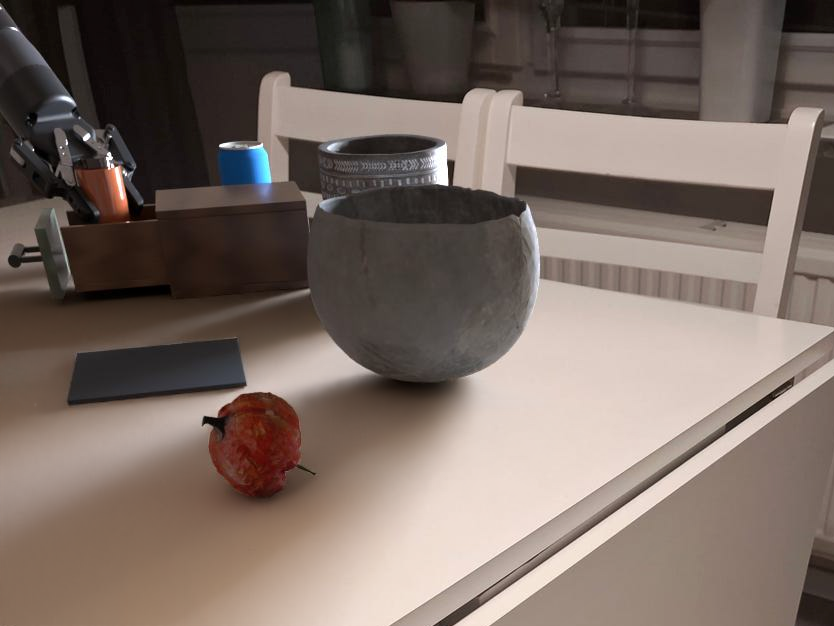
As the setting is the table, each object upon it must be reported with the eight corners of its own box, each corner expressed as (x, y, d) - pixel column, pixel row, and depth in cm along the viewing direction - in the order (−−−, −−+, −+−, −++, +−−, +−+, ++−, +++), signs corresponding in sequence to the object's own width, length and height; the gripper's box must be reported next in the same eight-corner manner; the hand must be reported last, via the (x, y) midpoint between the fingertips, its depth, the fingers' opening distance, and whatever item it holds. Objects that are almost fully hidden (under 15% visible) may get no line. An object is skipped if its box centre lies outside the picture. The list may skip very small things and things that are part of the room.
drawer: (15, 302, 114) (-6, 231, 109) (25, 277, 123) (6, 210, 118) (192, 287, 118) (178, 218, 113) (189, 263, 126) (177, 198, 122)
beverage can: (275, 237, 141) (261, 139, 134) (282, 247, 136) (269, 146, 129) (228, 241, 140) (212, 142, 132) (235, 251, 135) (218, 150, 127)
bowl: (495, 425, 85) (493, 231, 75) (281, 399, 90) (255, 216, 81) (564, 350, 100) (569, 181, 90) (377, 332, 105) (364, 171, 96)
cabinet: (172, 299, 117) (155, 211, 112) (171, 272, 127) (155, 190, 121) (316, 286, 120) (306, 200, 115) (304, 261, 130) (294, 180, 124)
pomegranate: (282, 488, 81) (167, 434, 75) (330, 412, 78) (215, 349, 72) (304, 536, 76) (184, 483, 70) (356, 457, 73) (236, 394, 67)
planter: (354, 311, 112) (339, 159, 103) (317, 281, 122) (301, 140, 113) (470, 294, 116) (467, 147, 107) (425, 266, 126) (418, 130, 117)
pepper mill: (97, 277, 118) (69, 161, 110) (99, 267, 121) (72, 154, 114) (141, 274, 118) (117, 158, 111) (142, 263, 122) (118, 151, 115)
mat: (68, 405, 91) (66, 400, 90) (77, 356, 101) (76, 352, 101) (247, 386, 93) (246, 381, 93) (237, 341, 104) (237, 337, 104)
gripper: (-28, 68, 106) (73, 204, 108) (85, 56, 115) (177, 182, 117) (-39, 122, 112) (57, 251, 114) (69, 107, 121) (157, 226, 123)
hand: (117, 215), depth 115 cm, fingers open, 5 cm apart
